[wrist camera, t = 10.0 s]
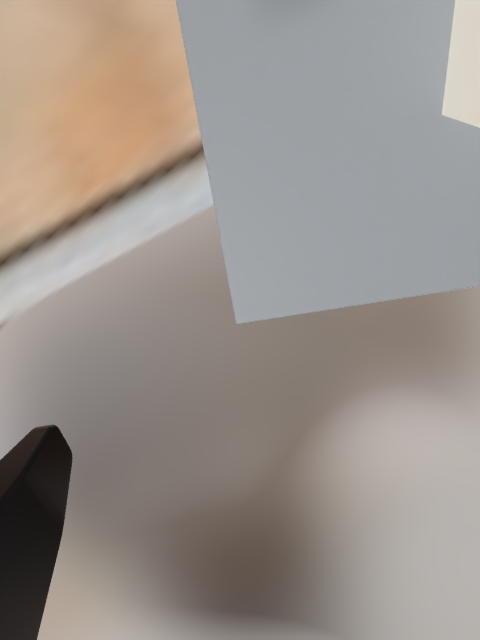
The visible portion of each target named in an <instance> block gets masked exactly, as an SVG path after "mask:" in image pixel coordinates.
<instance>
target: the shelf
mask: <svg viewBox="0 0 480 640" xmlns="http://www.w3.org/2000/svg"><path fill="white" fill-rule="evenodd" d="M176 4H177V10H178V15H179V20H180V26H181V31H182V36H183V42H184V47H185V52H186V58H187V63H188V68H189V74H190V79H191V84H192V90H193V95H194V100H195V106H196V111H197V116H198V122H199V127H200V132H201V138H202V143H203V148H204V154H205V159H206V164H207V170H208V175H209V180H210V186H211V191H212V196H213V201H214V207H215V212H216V217H217V223H218V228H219V233H220V239H221V244H222V249H223V255H224V260H225V265H226V271H227V276H228V281H229V287H230V292H231V297H232V303H233V308H234V313H235V319H236V323H237V324H238V323H246V322H252V321H259V320H265V319H271V318H278V317H283V316H290V315H297V314H304V313H310V312H317V311H323V310H329V309H336V308H342V307H349V306H355V305H361V304H368V303H374V302H381V301H387V300H393V299H400V298H406V297H413V296H419V295H425V294H432V293H439V292H445V291H452V290H458V289H465V288H470V287H477V286H480V128H479V127H476V126H473V125H470V124H467V123H464V122H461V121H459V120H456V119H453V118H450V117H447V116H444V115H442V108H443V99H444V91H445V83H446V74H447V66H448V57H449V49H450V40H451V32H452V23H453V15H454V6H455V0H176Z"/></svg>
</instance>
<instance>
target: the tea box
mask: <svg viewBox="0 0 480 640" xmlns="http://www.w3.org/2000/svg"><path fill="white" fill-rule="evenodd" d="M442 115H444V116H447V117H450V118H453V119H456V120H459V121H461V122H464V123H467V124H470V125H473V126H476V127H479V128H480V0H455V6H454V15H453V23H452V32H451V40H450V49H449V57H448V66H447V74H446V83H445V91H444V99H443V108H442Z"/></svg>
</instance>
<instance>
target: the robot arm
mask: <svg viewBox="0 0 480 640" xmlns="http://www.w3.org/2000/svg"><path fill="white" fill-rule="evenodd" d="M71 467H72V452H71V450H70V447H69V446H68V444H67V442H66V440H65V438H64V437H63V435H62V433H61V431H60V430H59V428H58V427H57V426H55V425H47V426H40V427H36V428H34V429H33V430H31V431H30V432H29V433H28V434H27V435H26V436H25V437H24V438H23V439H22V440H21V441H20V442H19V443H18V444H17V445H16V446H15V447H14V448H13V449H12V450H10V451H9V452H8V453H7V454H6V455H5V456H4V458H2V459H1V460H0V640H37V636H38V632H39V628H40V624H41V620H42V616H43V612H44V607H45V603H46V599H47V595H48V591H49V586H50V583H51V579H52V574H53V570H54V566H55V562H56V558H57V554H58V550H59V546H60V541H61V537H62V532H63V526H64V519H65V512H66V505H67V497H68V489H69V481H70V474H71Z"/></svg>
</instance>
